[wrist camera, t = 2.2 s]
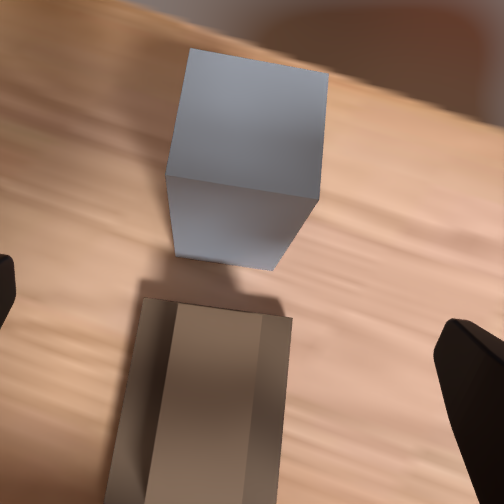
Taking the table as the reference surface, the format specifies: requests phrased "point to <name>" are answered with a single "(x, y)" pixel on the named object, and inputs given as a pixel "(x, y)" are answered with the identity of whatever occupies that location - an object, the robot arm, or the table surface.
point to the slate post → (244, 158)
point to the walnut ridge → (202, 407)
